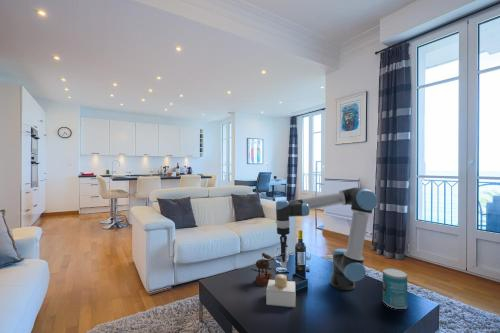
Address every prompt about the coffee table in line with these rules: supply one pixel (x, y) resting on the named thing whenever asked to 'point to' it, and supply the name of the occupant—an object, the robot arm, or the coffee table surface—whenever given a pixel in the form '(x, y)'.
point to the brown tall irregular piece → (263, 264)
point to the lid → (289, 288)
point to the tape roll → (280, 280)
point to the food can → (395, 288)
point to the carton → (280, 298)
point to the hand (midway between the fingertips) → (284, 262)
